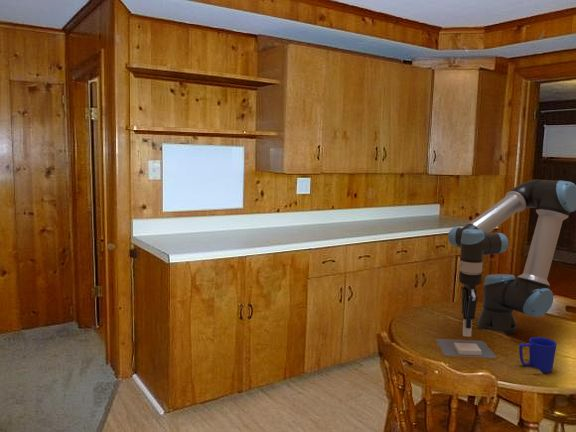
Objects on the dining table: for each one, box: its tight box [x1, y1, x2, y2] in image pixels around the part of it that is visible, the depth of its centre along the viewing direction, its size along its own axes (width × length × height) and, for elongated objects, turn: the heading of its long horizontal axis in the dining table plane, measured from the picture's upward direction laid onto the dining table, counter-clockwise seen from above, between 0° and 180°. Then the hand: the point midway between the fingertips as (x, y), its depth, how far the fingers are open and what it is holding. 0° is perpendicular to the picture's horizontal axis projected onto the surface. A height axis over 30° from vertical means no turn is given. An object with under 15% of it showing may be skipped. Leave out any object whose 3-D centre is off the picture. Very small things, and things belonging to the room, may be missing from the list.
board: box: [435, 338, 498, 359], centre depth 179 cm, size 18×16×2 cm
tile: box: [454, 343, 482, 356], centre depth 175 cm, size 8×2×7 cm
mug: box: [518, 336, 557, 374], centre depth 164 cm, size 8×12×10 cm
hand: (466, 335), depth 176 cm, fingers closed
